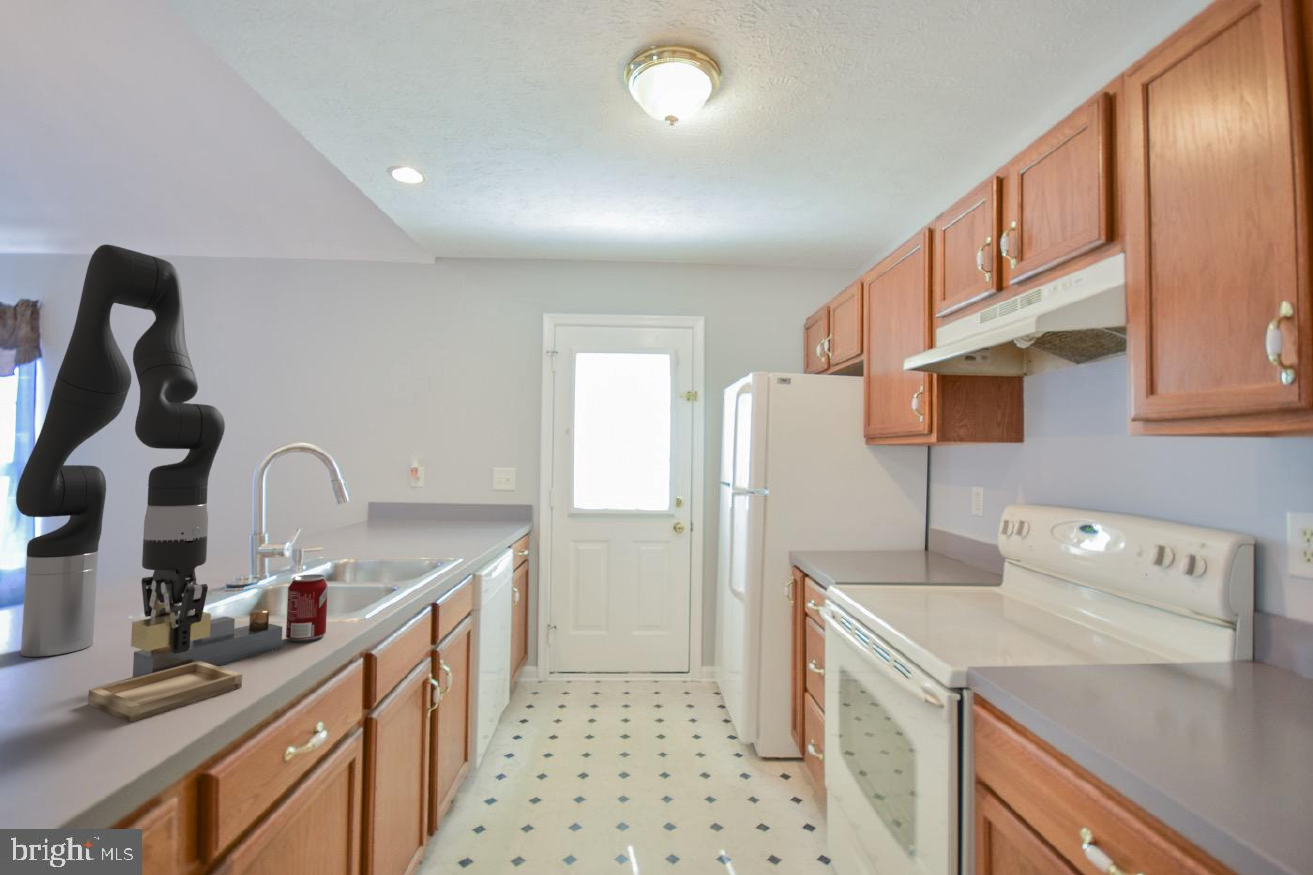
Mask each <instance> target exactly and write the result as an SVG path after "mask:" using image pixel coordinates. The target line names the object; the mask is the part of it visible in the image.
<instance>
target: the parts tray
mask: <svg viewBox="0 0 1313 875" xmlns="http://www.w3.org/2000/svg"><path fill="white" fill-rule="evenodd" d="M242 686H243V673H240V672H236V671H233V670H230V669H227V668H224V667H220V666H214V665H211V664H208V663H205V662H202V661H197V662H193V663H190V664H186V665H182V666H178V667H174V668H170V669H167V670H163V671H159V672H155V673H151V674H148V675H144V676H140V677H136V678H134V677H131V678H130V679H125V680H122V681H118V682H113V683H110V684H106V685H101V686H98V687H95V688H91V689H88V698H87V701H88V702H87V704H88V705H89V704H90V706H91V705H92V706H91V707H94V708H97V709H99V710H100V711H103V712H105V713H108V714H110V715H111V716H115V717H117V718H119V719H121V720H123V721H126V722H128V723H132V722H136V721H139V720H142V719H145V718H148V717H152V716H155V715H158V714H161V713H164V712H167V711H171V710H174V709H176V708H177V709H178V708H180V707H183V706H184V707H185V706H187V705H190V704H193V703H196V702H200V701H203V700H206V699H209V698H212V697H215V696H218V695H222V694H225V693H228V692H230V691H233V690H237V689H240V688H242Z"/></svg>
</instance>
